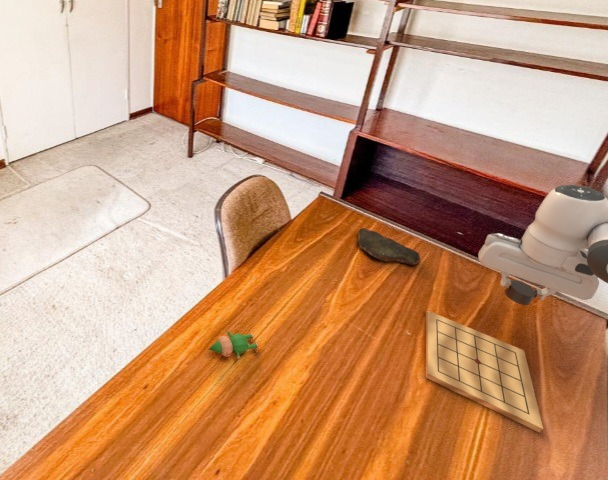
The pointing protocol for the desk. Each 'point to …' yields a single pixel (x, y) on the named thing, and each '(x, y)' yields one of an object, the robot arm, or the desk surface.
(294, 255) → the desk surface
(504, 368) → the go board
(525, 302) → the game stone
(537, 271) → the robot arm
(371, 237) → the stone
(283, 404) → the desk surface
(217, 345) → the figurine
